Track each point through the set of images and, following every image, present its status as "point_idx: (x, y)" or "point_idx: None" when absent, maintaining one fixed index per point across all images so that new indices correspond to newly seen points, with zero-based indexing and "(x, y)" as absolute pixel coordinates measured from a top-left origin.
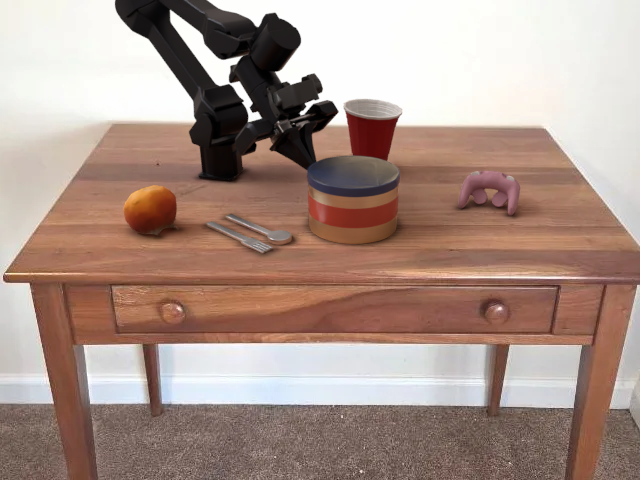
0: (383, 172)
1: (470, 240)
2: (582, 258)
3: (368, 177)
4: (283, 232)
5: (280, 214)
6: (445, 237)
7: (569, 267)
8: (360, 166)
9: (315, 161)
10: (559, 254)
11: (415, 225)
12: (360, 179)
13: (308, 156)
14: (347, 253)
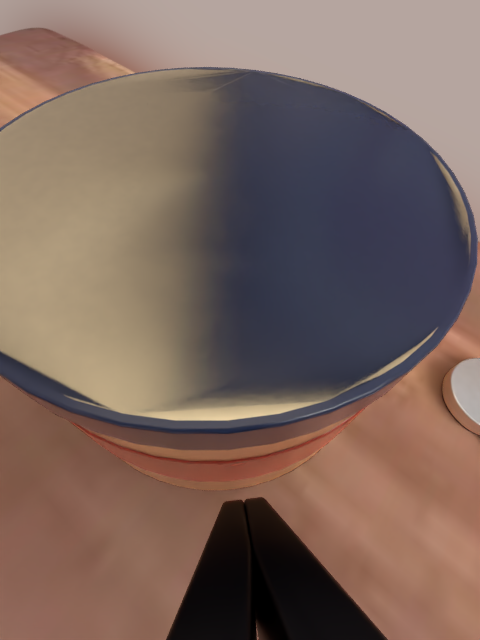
0: (125, 112)
1: None
2: (44, 62)
3: (221, 113)
4: (473, 399)
5: (395, 617)
6: None
7: (85, 62)
8: (133, 191)
9: (222, 540)
10: (50, 76)
11: None
12: (266, 116)
13: (293, 589)
14: None
